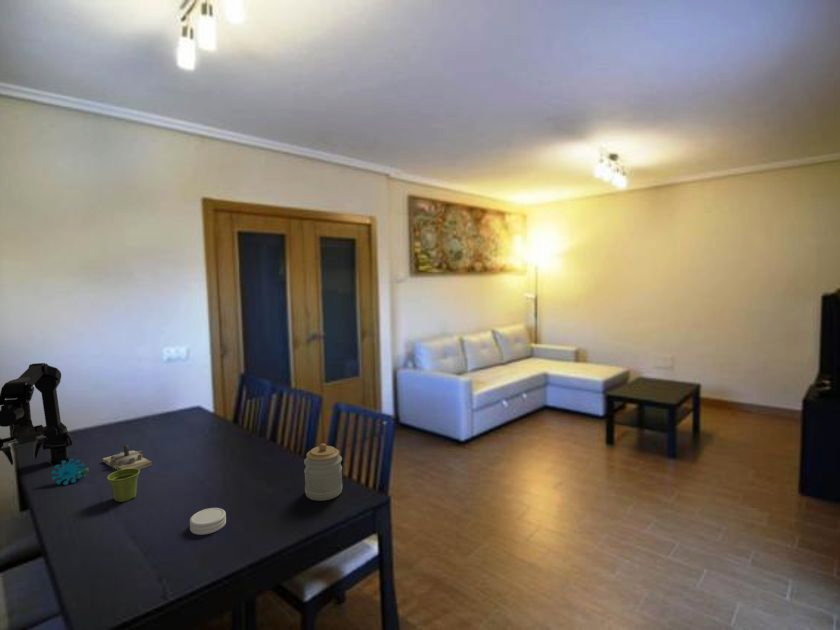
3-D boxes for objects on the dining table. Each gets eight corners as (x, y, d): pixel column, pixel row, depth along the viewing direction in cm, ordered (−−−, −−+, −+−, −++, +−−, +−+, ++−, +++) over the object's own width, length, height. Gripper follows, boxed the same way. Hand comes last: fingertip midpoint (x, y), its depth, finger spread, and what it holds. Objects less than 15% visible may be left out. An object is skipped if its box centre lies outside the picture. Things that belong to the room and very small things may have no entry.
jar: (349, 487, 163) (348, 439, 162) (330, 504, 151) (329, 452, 150) (317, 481, 168) (316, 435, 166) (297, 498, 155) (295, 448, 154)
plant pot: (106, 507, 150) (105, 482, 149) (111, 495, 158) (109, 471, 157) (140, 500, 154) (138, 476, 153) (142, 489, 162) (140, 465, 161)
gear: (47, 484, 162) (54, 458, 168) (49, 491, 166) (56, 465, 172) (85, 482, 167) (91, 456, 174) (86, 488, 171) (92, 463, 177)
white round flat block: (189, 538, 132) (188, 527, 132) (191, 521, 141) (190, 511, 141) (226, 531, 136) (225, 519, 136) (226, 515, 145) (225, 504, 145)
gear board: (101, 462, 186) (100, 444, 185) (131, 453, 195) (130, 436, 194) (122, 474, 174) (121, 455, 173) (153, 464, 183) (152, 446, 182)
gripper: (-11, 429, 144) (-7, 477, 145) (61, 414, 159) (64, 458, 160) (-20, 423, 150) (-16, 468, 151) (50, 409, 165) (53, 451, 167)
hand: (23, 461), depth 157 cm, fingers open, 6 cm apart
